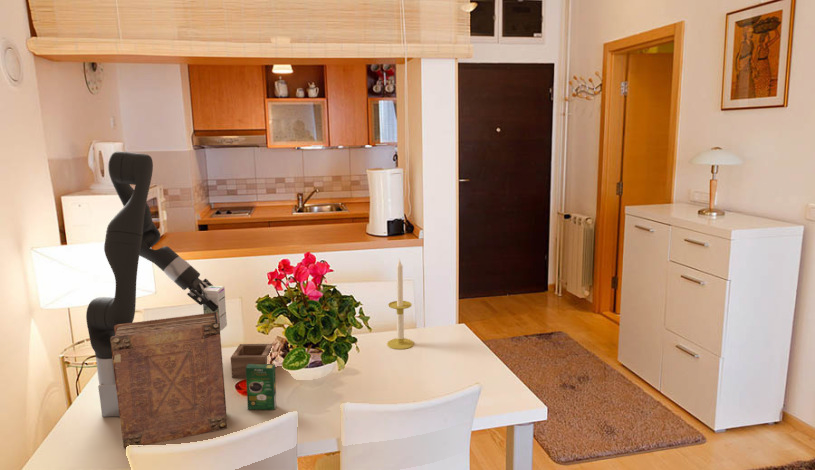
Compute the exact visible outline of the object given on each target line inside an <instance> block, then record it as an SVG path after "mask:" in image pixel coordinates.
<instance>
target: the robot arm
mask: <svg viewBox="0 0 815 470" xmlns="http://www.w3.org/2000/svg"><path fill="white" fill-rule="evenodd" d="M107 165H108V166H107V169H108V175H109V178H110V181H111V183H112V185H113V187H114V190H115V192H116V194H117V196H118V198H119V199H120V201H121V204H122V206H123V208H122V207H121V209H120V210H119V211H118V212H117V213H116V215H114V217H113V218H112V219H111V220H110V222H109V223H108V225H107V227H106V231H105V232H106V234H105V238H104V239H105V241H104V246H103V249H104V251H103V252H104V254H105V258H106V260H107V262H108V264H109V266H110V269H111V271H112V272H113V276H114V280H115V291H114V297H111V296H110V297H107V296H106V297H105V296H104V297H103V296H102V297H101V296H99V297H96V298H93V299H92V300H91V301H90V302H89V304H88V305H87V308H86V312H85V313H86V316H85V317H86V326H87V331H88V337H89V341H90V346H91V349H92V350H93V352H94V356H95V361H96V368H97V377H98V387H97V388H98V393H99V402H100V409H101V416H102V417H120V414H119V406H118V398H117V390H116V382H115V374H114V366H113V358H112V350H111V342H110V338H111V337H112V336H115V330H114V326H115V325H118V324H126V323H134V319H135V315H136V303H137V301H136V300H137V278H138V269H139V267H138V266H139V260H140V257H142V258H143V259H146V260H147V261H148V262H151V263H153V264H154V265H155V266H156V267H158V269H160V270H161V271H163V272H164V274H165V275H166V276H167V277H168V278H169V279H170V280H172V282H173V283H175V284H176V285H177V286H178V287H179V288H181V289H182V290H183V291H186V290H187V289H188V290H189V291H188V292H187V293H186V295H187V296H188V297H189V298H190V299H192V300H193V301H195V302H196V303H197V304H199V306H203V305H206V306H207V307H209V308H210V309H211V310H212V311H213V312H214V311H216V310H217V309H218V306H217V305H216V304H215V303H214V302H213V301H212V300H210V299H209V297H208V296H207V293H206V292H205V291H204V290H205V289H204V288H206V287H208V286H214V285H213V283H211V282H210V281H209V279H207V278H204V279H203V280H202V279H200V276H201V273H200V272H199V271H198V270H197V269H196V268H195V267H193V266H192V265H191V264H190V263H189V262H187V260H185V259H184V258H182V257H181V256H180V255H178V253H176V251H174V250H173V249H172V248H170V246H167V245H166V246H162V247H160V248H158V249H153V247H154V246H155V245H157V243H158V242H159V241H160V239H161V233H160V231H159V229H158V227H157V226H156V225H155V223H154V221H153V218H152V213H151V207H150V206H149V203H147V202H148V197H149V192H150V188H151V182H152V177H153V170H154V168H153V167H154V163H153V158H152V156H151V155H149V154H145V153H137V152H131V151H129V152H128V151H114V152H112V154H111V155H110V157H109V158H108V164H107ZM132 185H135V186H134V187H132ZM202 292H203V294H202ZM209 300H210V301H209Z"/></svg>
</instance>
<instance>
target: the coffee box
mask: <svg viewBox="0 0 815 470" xmlns="http://www.w3.org/2000/svg"><path fill="white" fill-rule="evenodd" d="M245 380H246V381H245V382H246V397H247V398H246V399H247V400H246V401H247V410H254V411H255V410H258V411H259V410H263V411H264V410H265V411H266V410H267V411H270V410H271V411H272V410H275V409H276V408H277V389H276V388H277V386H276V385H277V384H276V383H277V381H276V365H275V364H274V363H273V364H248V365H247V367H246V379H245Z"/></svg>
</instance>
